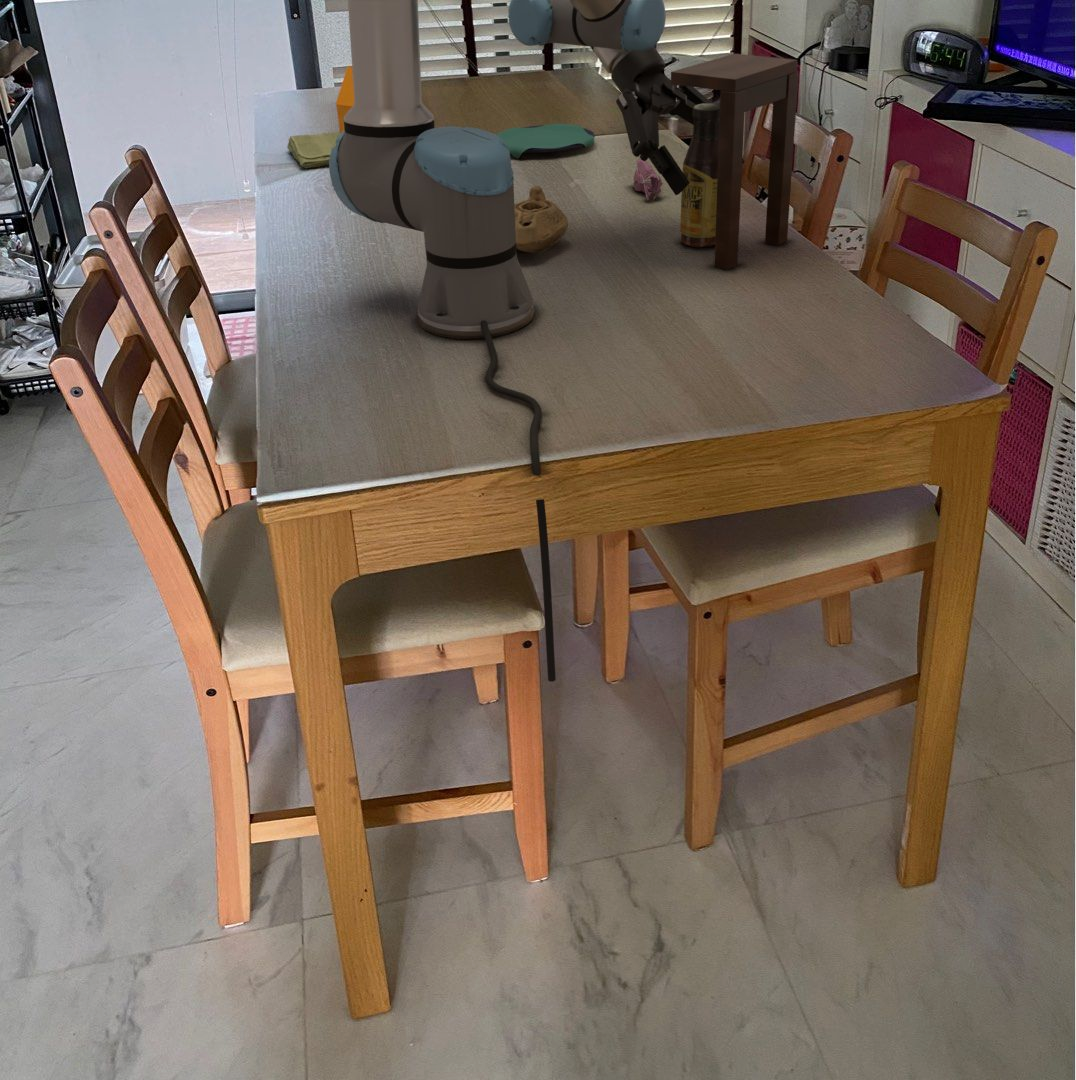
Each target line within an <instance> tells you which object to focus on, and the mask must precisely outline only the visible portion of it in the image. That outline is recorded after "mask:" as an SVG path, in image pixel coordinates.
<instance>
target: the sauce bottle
mask: <svg viewBox="0 0 1076 1080" xmlns="http://www.w3.org/2000/svg"><path fill="white" fill-rule="evenodd" d="M693 118H694V125H692V126H693V128H692V129H693V131H692V137H691V139H690V143H689V145H688V147H687V148H688V149H687V151H686V154H685V157H684V158H683V159H684V160H683V163H682V172H683V173H684V175H685V176H686V178H687V179H688V181H689V182H690V183H689V184H688V185H687V186H686V187H685V188H684V189H683V190H682V191H681V197H680V218H679V219H680V221H679V231H680V241H681V243H682V244H684V245H686V246H689V247H692V248H698V249H699V248H707V247H713V246H715V234H716V205H717V177H718V148H719V120H720V104H717V103H713V104H708V103H706V104H698V105H695V106H694V108H693Z"/></svg>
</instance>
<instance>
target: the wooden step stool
mask: <svg viewBox="0 0 1076 1080" xmlns="http://www.w3.org/2000/svg"><path fill="white" fill-rule="evenodd" d="M799 73H800V72H799V71H798V59H792V58H780V57H773V56H772V57H771V56H762V55H752V54H741V53H731V54H728V55H724V56H720V57H717V58H715V59H711V60H707V61H704V62H699V63H697V64H693V65H690V66H686V67H683V68H680V69H677V70H676V69H675V70H673V71H670V80H671V84H674V85H682V86H690V87H694V88H697V89H698V88H699V89H706V90H715V91H720V94H719V95H720V96H719V105H720V120H719V148H718V177H717V205H716V234H715V245H714V261H713V263H714V264H713V266H714V268H718V269H721V270H726V271H729V270H731V269H733V268H736V267H737V266H738V263H739V240H740V219H741V218H740V217H741V199H742V177H743V175H742V174H743V164H742V158H743V154H744V135H745V133H744V131H745V113H747V112H749V111H752V110H756V109H759V108H760V107H764V106H767V105H769V104H772V115H771V130H770V131H771V132H770V149H769V165H768V166H769V167H768V181H767V182H768V183H767V185H768V186H767V197H766V198H767V201H766V219H765V236H764V237H765V238H764V243H765V244H769V245H773V246H781V245H783V244H784V243H787V242H788V234H789V219H790V218H789V217H790V204H791V188H792V175H793V173H792V172H793V160H794V146H795V145H794V144H795V132H796V130H795V129H796V115H797V103H798V101H797V100H798V89H799Z"/></svg>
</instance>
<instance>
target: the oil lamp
mask: <svg viewBox="0 0 1076 1080" xmlns="http://www.w3.org/2000/svg"><path fill="white" fill-rule="evenodd" d="M528 192H529V194H528V195H529V197H528V199H526V200H522V201H519V202H516V203H514V207H515V232H516V250H518V251H521V252H524V253H540V252H544V251H547V250H549V249H550V248H552V247H554V245H555V244H557V242H559V240H560V239H562V238H563V237H564V236H565V235H566V233H567V231H568V228H569V220H568V219H569V218H568V216H567V215H565V213H564V212H563V211H562V210H561V209H560V208H559V207H558V205H556V204H555V203H554V202H553V201H551V200H549V199H547V198H546V194H545V192H544V191H543V189H542V186H541V185H534V186H531V187H530V188H529V191H528Z"/></svg>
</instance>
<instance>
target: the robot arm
mask: <svg viewBox="0 0 1076 1080" xmlns="http://www.w3.org/2000/svg"><path fill="white" fill-rule="evenodd" d="M347 8H348V9H347V10H348V25H349V26H348V27H349V38H350V39H349V40H350V54H351V66H352V72H353V87H354V104H353V107H352V108H351V109H350V110H349V111H348V112H347V114H346V115H345V116H344V131H343V132H342V133H341V134H340V135H339V136H338V138H337V139H336V146H335V147H333V148H332V150H331V154H330V161H329V165H328V168H329V170H328V171H329V177H330V181H331V184H332V188H333V190H334V192H335V194H336V196H337V197H338V199H339V200H340V202H341V203H342V205H344V206H345V207H346V208H347V209H348V210H349V211H351V212H352V213H354V214H356V215H358V216H361V217H364V218H365V219H367V220H370V221H372V222H375V223H379V224H389V225H393V226H397V227H401V228H406V229H408V230H409V229H410V230H414V231H418V232H422V233H423V238H424V247H425V248H424V249H425V257H426V267H425V272H424V275H423V279H422V280H423V281H422V285H421V289H420V294H419V299H418V303H417V318H418V323H419V326H420V327H421V328H422V329H423V330H425V331H426V332H429V333H430V334H433V335H435V336H440V337H443V338H450V339H451V338H452V339H461V340H462V339H465V340H468V339H471V340H473V339H483V338H484V342H485V344H486V347H487V350H488V353H489V357H490V364H489V365H488V368H487V370H486V372H485V374H484V379H485V380H484V382H485V383H486V385H487V386H488V387H489V388H490V389H491V391H493V392H496V393H497V394H499V395H503V396H506V397H509V398H513V399H515V400H519V401H521V402H523V403H525V404H527V405H529V406H530V407H531V408H532V410H533V416H532V417H533V418H532V420H531V424H530V428H529V448H530V458H531V468H532V470H531V471H532V475H533V476H540V475H541V474H542V470H541V468H542V467H541V460H540V459H541V458H540V449H539V432H538V431H539V427H540V424H541V420H542V415H543V412H542V410H543V409H542V407H541V405H540V404H539V402H538V401H537V400H536V399H535V398H533V396H530V395H528V394H526V393H524V392H520V391H517V390H515V389H512V388H511V389H510V388H508V387H504V386H502V385H500V384H498V383H497V382H495V381H494V379H493V376H494V374H495V372H496V370H497V367H498V362H499V361H498V359H499V358H498V352H497V349H496V347H495V343H494V341H493V338H492V337H497V336H501V335H506V334H509V333H512V332H514V331H517V330H519V329H521V328H523V327H525V326H526V325H528V324H529V323H530V322H531V321H532V320H533V318H534V316H535V309H534V307H535V306H534V299H533V295H532V293H531V290H530V288H529V285H528V283H527V280H526V277H525V275H524V273H523V270H522V267H521V265H520V261H519V260H518V254H517V249H516V232H515V207H514V204H515V188H514V187H515V186H514V185H515V184H514V170H513V167H512V160H511V154H510V152H509V149H508V146H507V145H506V143H505V142H504V141H503V140H502V139H501V138H500V137H498V136H497V135H496V134H495V133H492V132H490V131H487V130H484V129H481V128H476V127H472V126H471V127H470V126H464V127H460V126H456V125H452V126H451V125H447V126H438V127H435V115H434V114H433V113H432V112H431V111H430V110H429V109H428V108H427V106H425V105H424V102H423V99H422V97H423V95H422V71H421V69H422V68H421V48H420V46H421V45H420V23H419V20H420V19H419V0H347ZM507 15H508V25H509V28H510V30H511V33H512V35H513V36H514V38H515V39H516V40H517V41H518V42H519V43H521V44H522V45H524V46H528V47H533V46H540V47H543V46H545V45H547V44H560V45H569V46H570V45H571V46H581V47H589V48H590V49H591V51H592V52H593V53H594V54H595V55H596V57H597V58H598V60H599V62H600V63H601V64H602V66H603V68H604V70H605V71H606V72H607V73H608V74H609V75H610V74H611V75H610V76H611V80H612V81H613V83H614V84H615V87H616V88H617V89H618V90H619V92H620V93H621V94H620V95H619V96H618V97H617V99H616V100H615V103H616V105H617V107H618V109H619V110H620V112H621V114H622V118H623V122H624V126H625V130H626V134H627V138H628V142H629V145H630V150H631V153H632V155H633V156H634V157H635V158H639V159H641V160H643V161H646V162H647V160H648V159H649V161H650V162H651V164H652V165H653V166H654V168H655V169H656V171H657V172H658V173H659V174H660V175H661V176H662V177H663V179H664V180H665V182H666V183H667V185H668V186H669V188H670V190H671V191H672V192H673V194H674V195H675V196H678V195H680V194H682V190H683V189H684V188H685V187H686V186H687V185H688V184H689V183H690V182H689V181H688V179H687V178H686V176H685V175H684V173H683V169H681V167H680V166H679V164H678V163H677V162H676V159H675V158H674V157H673V155H672V154H671V153H670V151H669V150H668V148H667V147H666V145H665V144H664V145H661V146H660V132H659V131H660V129H659V117H660V116H663V115H668V114H669V115H671V116H672V117H673V116H677V117H679V118H681V119H682V120H684V121H686V122H688V123H689V124H691V125H692V126H694V118H693V108H694V106H695V105H698V104H706V103H708V104H714V103H713V102H712V101H711V100H710V99H708V98H707V97H706V96H705V95H703V93H702V92H700V91H699V90H698V89H696V87H690V86H682V85H674V84H671V78H669V77H668V75H666V74H665V68H666V62H665V59H663V57H662V55H661V54H660V53H659V51H658V50H657V48H656V47H655V46H656V45H657V44H658V43H659V41H660V40H661V37H662V35H663V33H664V30H665V27H666V18H667V15H666V6H665V3H664V1H663V0H510V2H509V6H508V14H507ZM745 162H746V161H745V160H744V158H743V157H742V165H744V164H745ZM535 503H536V514H537V527H538V536H539V537H538V538H539V548H540V549H539V550H540V562H541V577H542V578H541V579H542V594H543V595H542V596H543V608H544V609H543V613H544V614H543V615H544V631H545V633H544V634H545V649H546V650H545V651H546V667H547V680H548V682H551V683H552V682H555V681H556V679H557V678H556V661H555V660H556V659H555V658H556V657H555V640H554V639H555V638H554V619H553V618H554V617H553V601H552V600H553V599H552V580H551V565H550V564H551V563H550V551H549V549H550V548H549V537H548V526H547V513H546V505H545V504H546V503H545V498H541V499H535Z"/></svg>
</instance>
